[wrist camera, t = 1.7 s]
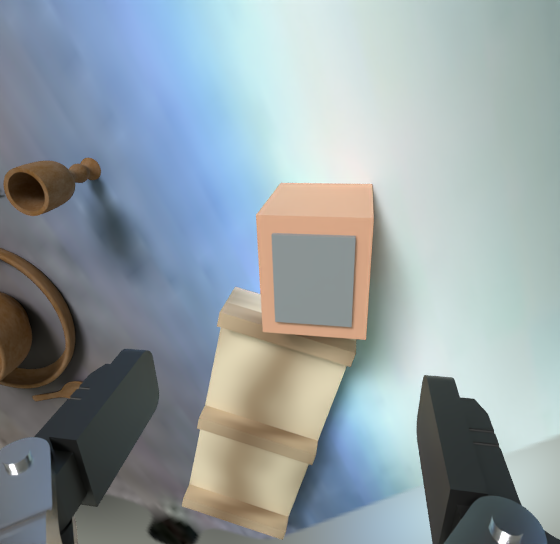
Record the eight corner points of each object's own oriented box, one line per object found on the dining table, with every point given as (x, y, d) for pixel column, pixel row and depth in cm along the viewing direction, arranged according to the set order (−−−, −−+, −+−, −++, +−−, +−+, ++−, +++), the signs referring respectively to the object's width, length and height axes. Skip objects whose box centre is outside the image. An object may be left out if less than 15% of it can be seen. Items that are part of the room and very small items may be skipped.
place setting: (-119, 225, 31) (-217, 257, 26) (97, 127, 25) (24, 142, 20) (17, 408, 37) (-41, 464, 32) (218, 366, 31) (187, 426, 26)
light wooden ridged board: (357, 323, 27) (355, 353, 24) (289, 501, 35) (282, 539, 32) (235, 286, 27) (219, 312, 24) (196, 470, 35) (181, 506, 32)
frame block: (372, 183, 23) (373, 220, 17) (366, 283, 25) (365, 342, 20) (280, 182, 24) (254, 216, 18) (283, 279, 26) (261, 334, 21)
